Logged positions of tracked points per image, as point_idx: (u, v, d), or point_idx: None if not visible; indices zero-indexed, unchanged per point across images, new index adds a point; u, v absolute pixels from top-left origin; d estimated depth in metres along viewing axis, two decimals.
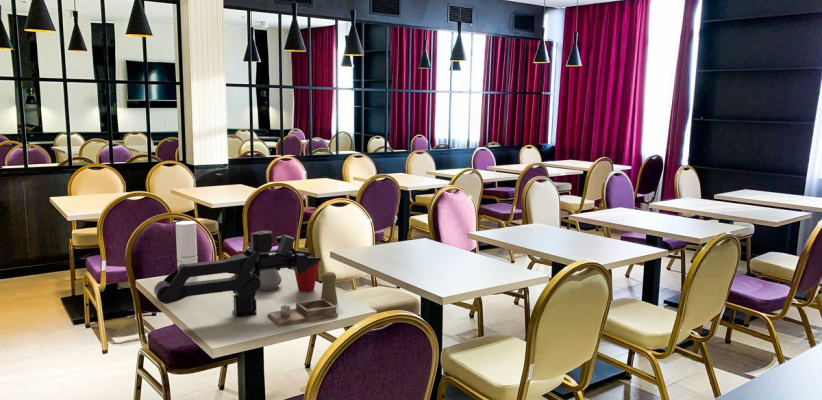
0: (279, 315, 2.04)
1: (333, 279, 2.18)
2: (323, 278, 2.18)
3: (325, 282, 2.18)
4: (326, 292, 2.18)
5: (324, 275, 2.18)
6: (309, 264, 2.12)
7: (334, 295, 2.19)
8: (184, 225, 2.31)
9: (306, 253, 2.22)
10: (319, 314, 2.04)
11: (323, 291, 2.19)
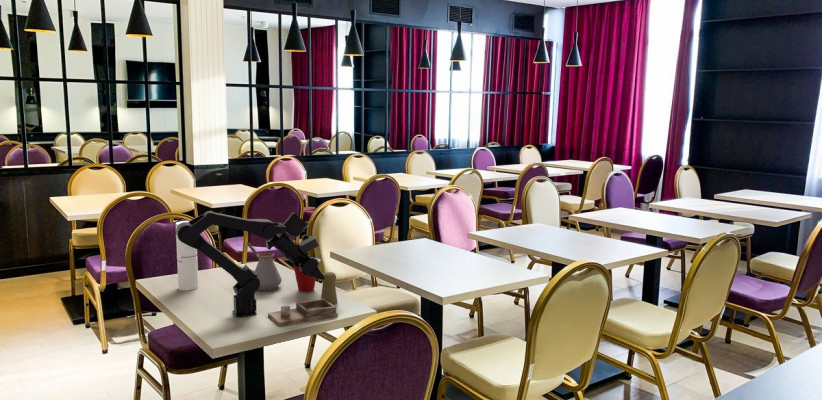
0: (279, 315, 2.04)
1: (333, 279, 2.18)
2: None
3: (325, 282, 2.18)
4: (326, 292, 2.18)
5: (324, 275, 2.18)
6: (313, 274, 2.11)
7: (334, 295, 2.19)
8: None
9: None
10: (319, 314, 2.04)
11: (323, 291, 2.19)
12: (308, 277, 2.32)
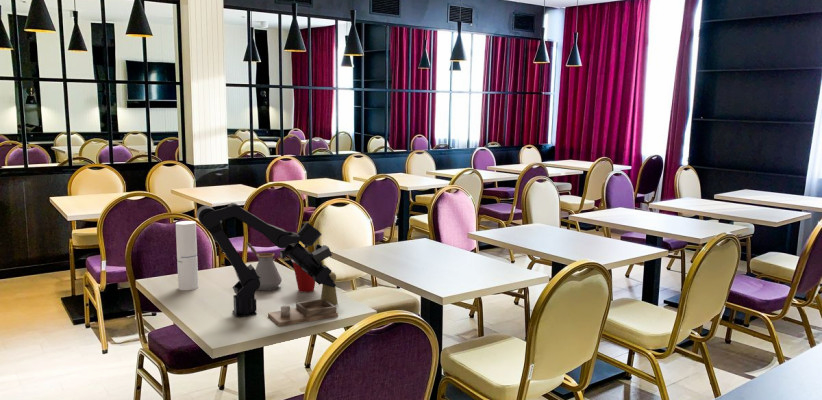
0: (279, 315, 2.04)
1: (333, 279, 2.18)
2: None
3: None
4: (326, 292, 2.18)
5: None
6: (325, 281, 2.15)
7: (334, 295, 2.19)
8: (184, 225, 2.31)
9: None
10: (319, 314, 2.04)
11: (323, 291, 2.19)
12: (308, 277, 2.32)
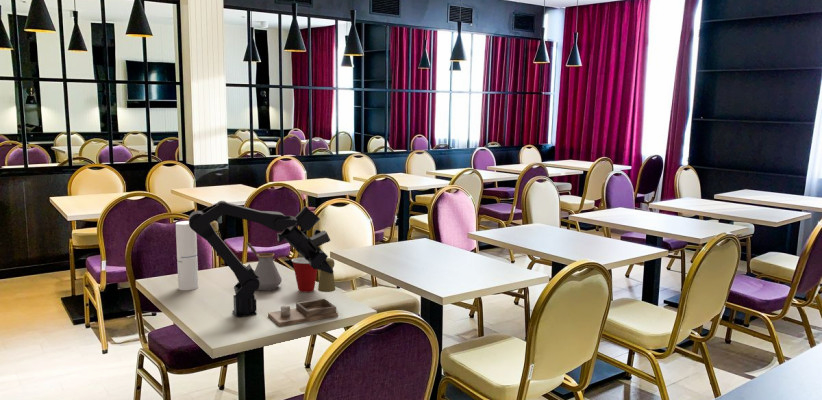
0: (279, 315, 2.04)
1: (331, 265, 2.14)
2: None
3: None
4: (324, 278, 2.15)
5: None
6: (322, 267, 2.12)
7: (332, 281, 2.16)
8: (184, 225, 2.31)
9: None
10: (319, 314, 2.04)
11: (321, 277, 2.15)
12: (308, 277, 2.32)
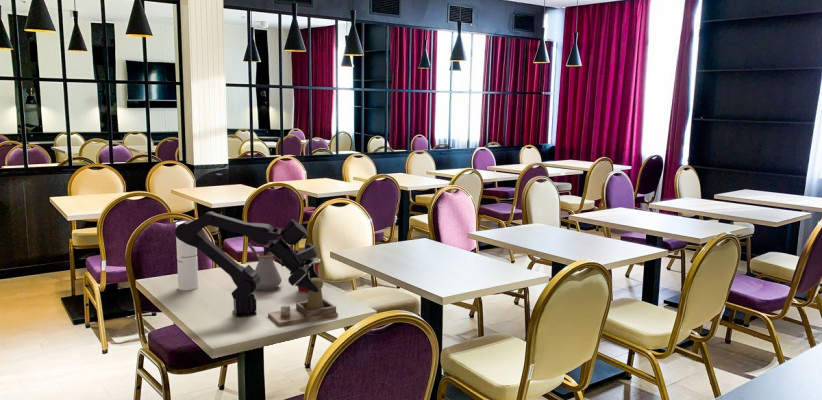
0: (279, 315, 2.04)
1: (317, 286, 2.05)
2: None
3: None
4: (309, 299, 2.06)
5: None
6: (305, 285, 2.02)
7: (318, 303, 2.06)
8: None
9: None
10: (319, 314, 2.04)
11: (308, 297, 2.07)
12: None
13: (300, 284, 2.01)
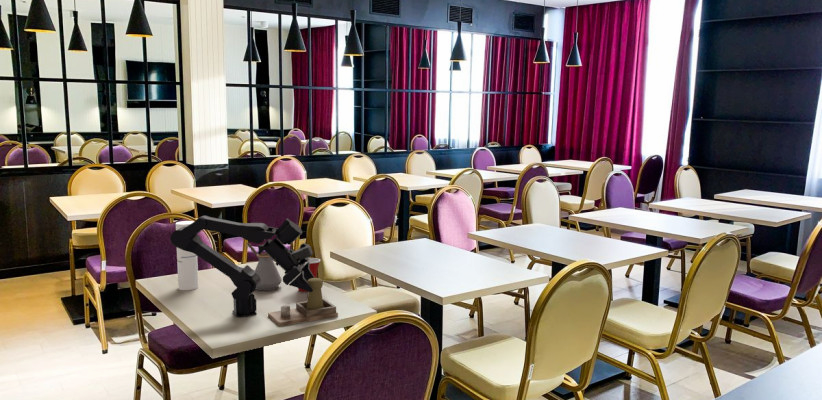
0: (279, 315, 2.04)
1: (316, 286, 2.05)
2: None
3: None
4: (309, 299, 2.06)
5: (308, 281, 2.06)
6: (299, 284, 2.01)
7: (318, 303, 2.06)
8: (184, 225, 2.31)
9: None
10: (319, 314, 2.04)
11: None
12: None
13: (294, 284, 2.01)
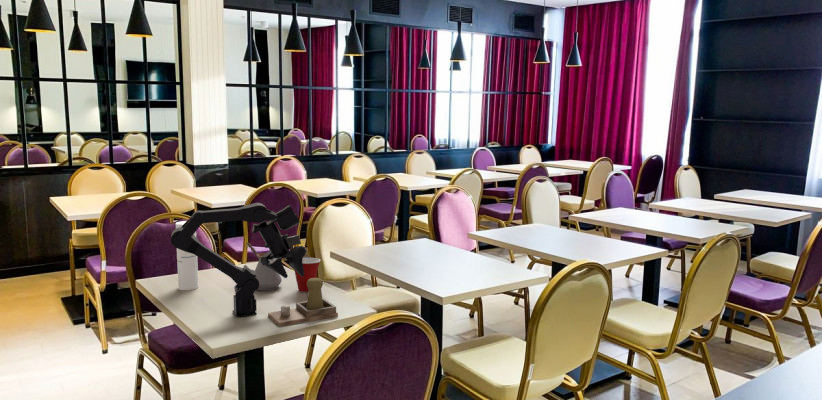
0: (279, 315, 2.04)
1: (316, 286, 2.05)
2: (307, 284, 2.06)
3: (309, 288, 2.06)
4: (309, 299, 2.06)
5: (308, 281, 2.06)
6: (297, 265, 2.07)
7: (318, 303, 2.06)
8: None
9: (285, 273, 2.15)
10: (319, 314, 2.04)
11: None
12: (308, 277, 2.32)
13: (295, 263, 2.05)
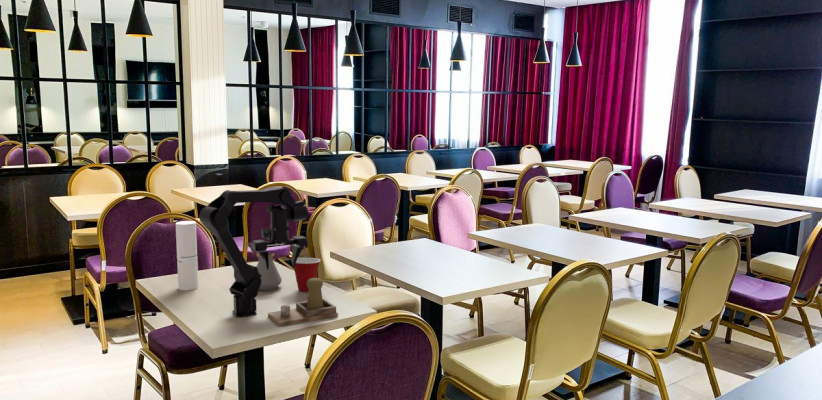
0: (279, 315, 2.04)
1: (316, 286, 2.05)
2: (307, 284, 2.06)
3: (309, 288, 2.06)
4: (309, 299, 2.06)
5: (308, 281, 2.06)
6: None
7: (318, 303, 2.06)
8: (184, 225, 2.31)
9: None
10: (319, 314, 2.04)
11: None
12: (308, 277, 2.32)
13: None
